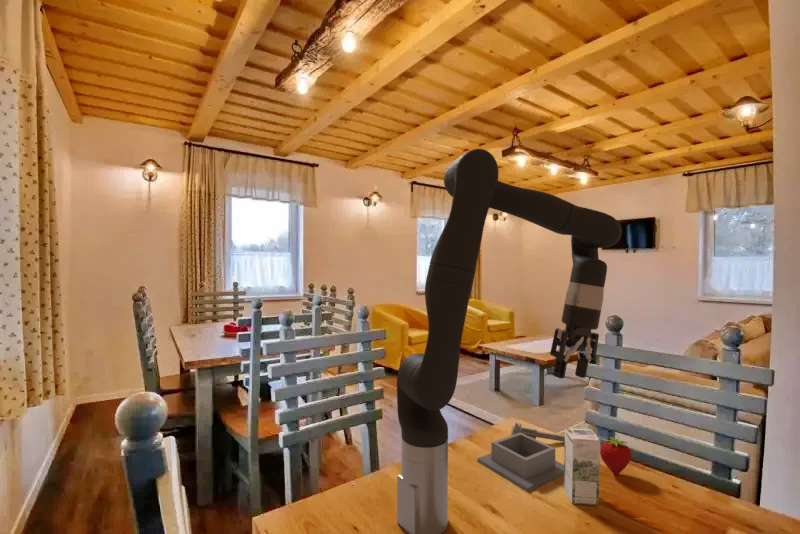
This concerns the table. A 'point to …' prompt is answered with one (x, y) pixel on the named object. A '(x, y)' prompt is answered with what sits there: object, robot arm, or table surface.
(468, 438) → the table surface
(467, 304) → the robot arm
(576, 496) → the syrup box
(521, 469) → the holder
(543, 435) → the caliper
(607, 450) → the strawberry
